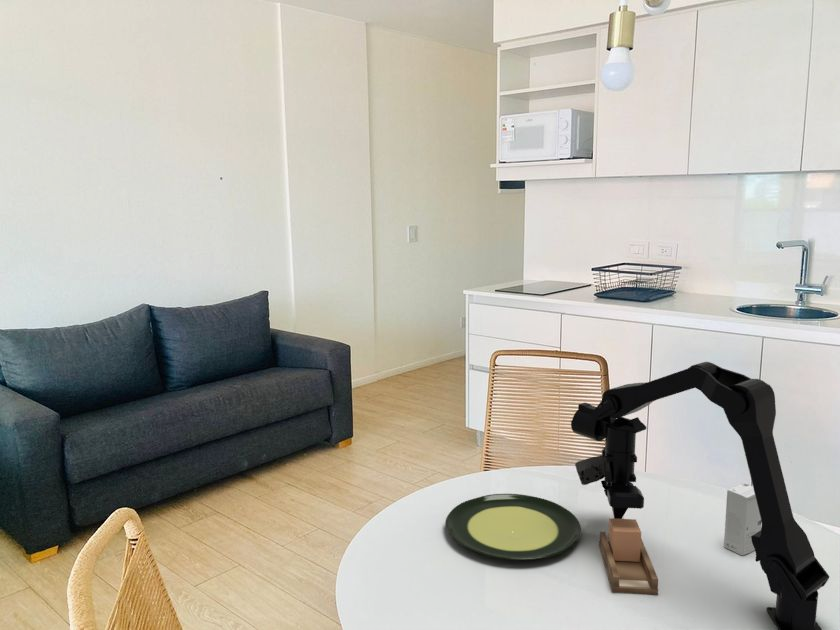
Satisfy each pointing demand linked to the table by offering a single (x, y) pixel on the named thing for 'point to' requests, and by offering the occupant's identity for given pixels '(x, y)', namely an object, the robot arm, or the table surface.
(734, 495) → the skincare box
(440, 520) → the table surface
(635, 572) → the chute
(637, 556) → the block
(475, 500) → the plate
